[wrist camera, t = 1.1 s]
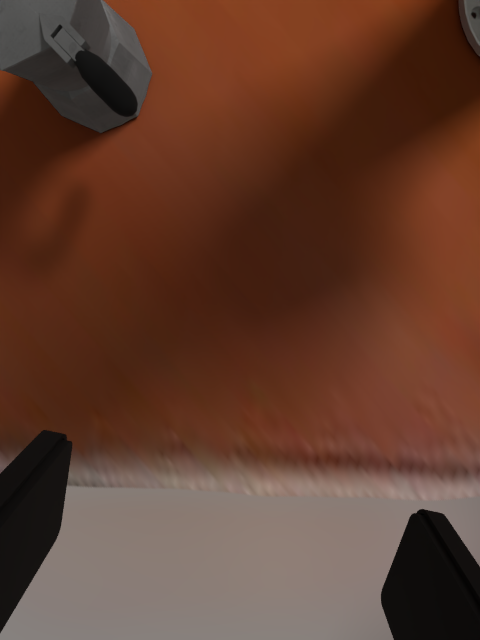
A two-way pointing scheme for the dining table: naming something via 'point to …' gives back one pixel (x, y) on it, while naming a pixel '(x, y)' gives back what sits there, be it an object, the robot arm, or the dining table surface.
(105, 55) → the coffeepot
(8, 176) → the dining table surface
